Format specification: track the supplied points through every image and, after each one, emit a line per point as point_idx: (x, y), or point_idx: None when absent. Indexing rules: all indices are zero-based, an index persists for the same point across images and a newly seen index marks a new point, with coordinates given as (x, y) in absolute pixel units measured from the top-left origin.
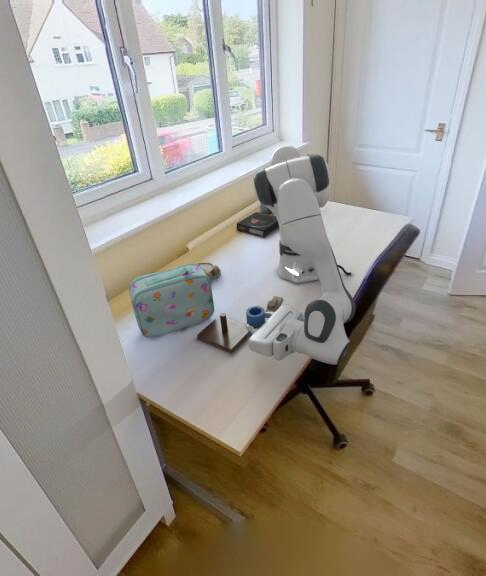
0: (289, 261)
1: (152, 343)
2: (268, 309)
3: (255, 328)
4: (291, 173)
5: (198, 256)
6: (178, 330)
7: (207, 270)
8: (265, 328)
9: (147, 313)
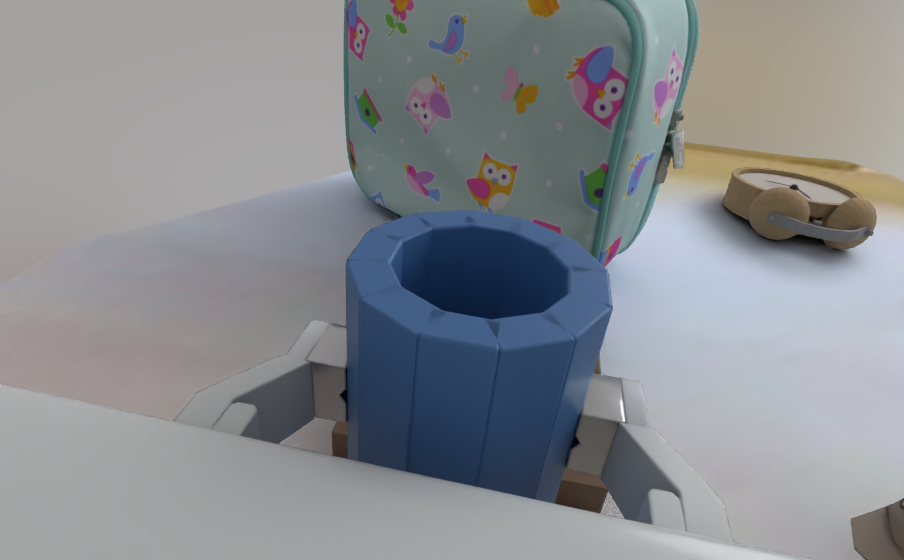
0: None
1: (345, 207)
2: (880, 528)
3: (352, 433)
4: None
5: (859, 190)
6: None
7: (814, 200)
8: (182, 518)
9: (364, 75)
